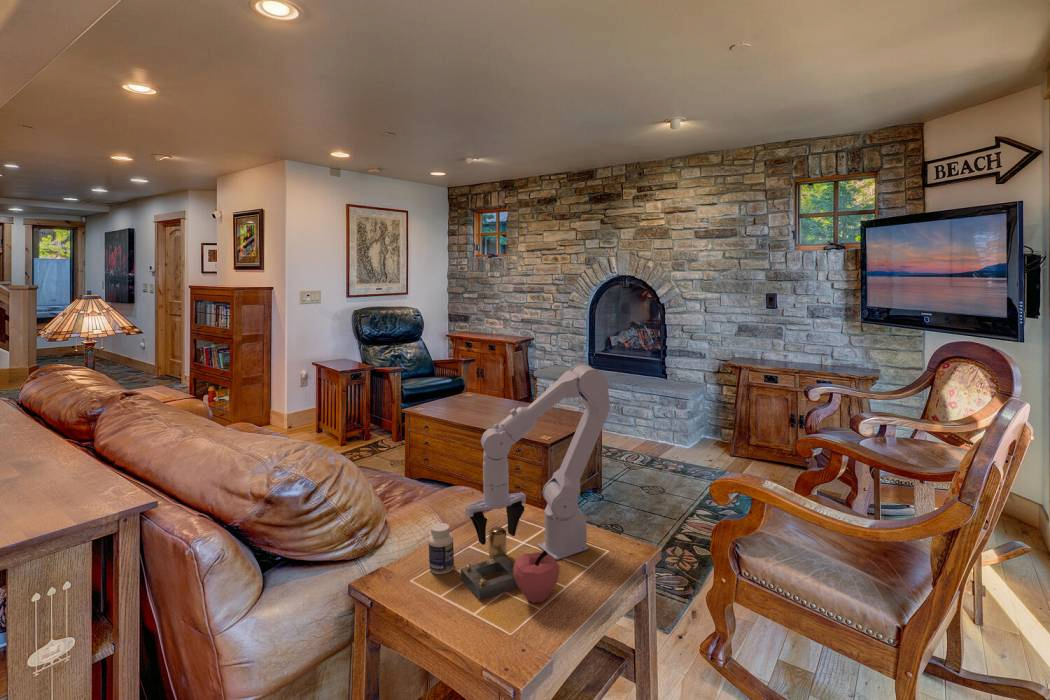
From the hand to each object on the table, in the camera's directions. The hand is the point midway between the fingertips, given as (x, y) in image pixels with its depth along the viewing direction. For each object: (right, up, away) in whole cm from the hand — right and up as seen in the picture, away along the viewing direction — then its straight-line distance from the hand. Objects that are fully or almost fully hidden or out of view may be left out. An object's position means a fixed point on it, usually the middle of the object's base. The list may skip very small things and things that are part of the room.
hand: (497, 538), depth 127 cm
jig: (0, -6, -10) cm, 12 cm away
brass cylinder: (0, -4, +1) cm, 4 cm away
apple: (+9, -7, -16) cm, 20 cm away
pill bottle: (-12, -5, -4) cm, 14 cm away
